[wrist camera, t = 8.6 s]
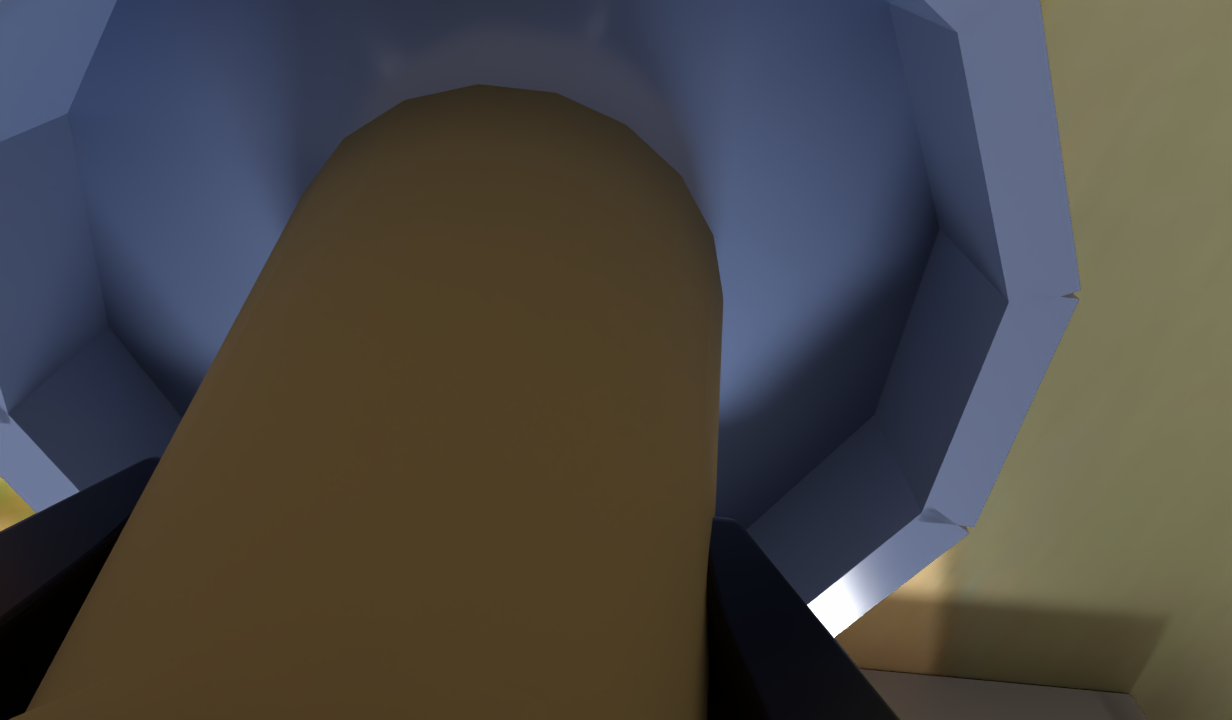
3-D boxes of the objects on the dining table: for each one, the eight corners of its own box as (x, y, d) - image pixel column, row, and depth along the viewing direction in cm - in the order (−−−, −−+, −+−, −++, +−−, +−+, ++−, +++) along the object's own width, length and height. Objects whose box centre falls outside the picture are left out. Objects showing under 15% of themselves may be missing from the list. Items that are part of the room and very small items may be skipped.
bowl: (1130, -193, 10) (1317, -220, 7) (829, 617, 17) (869, 754, 14) (-72, -398, 9) (-358, -514, 6) (128, 548, 16) (31, 681, 13)
